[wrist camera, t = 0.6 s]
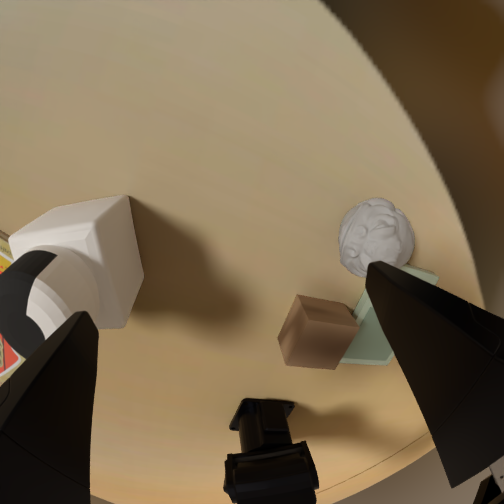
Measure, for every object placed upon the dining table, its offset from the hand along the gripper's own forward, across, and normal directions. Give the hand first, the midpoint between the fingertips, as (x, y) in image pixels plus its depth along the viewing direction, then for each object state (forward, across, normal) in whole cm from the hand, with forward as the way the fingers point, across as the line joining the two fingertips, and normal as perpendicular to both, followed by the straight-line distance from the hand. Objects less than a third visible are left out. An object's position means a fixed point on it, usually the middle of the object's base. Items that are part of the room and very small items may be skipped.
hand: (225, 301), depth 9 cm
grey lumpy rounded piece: (+14, -11, +6) cm, 18 cm away
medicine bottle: (+14, +10, +4) cm, 18 cm away
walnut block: (+13, -6, +15) cm, 20 cm away
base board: (+12, -14, +16) cm, 25 cm away
